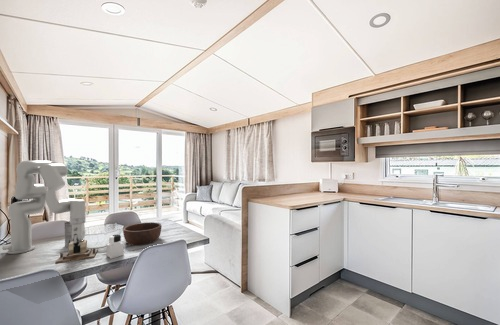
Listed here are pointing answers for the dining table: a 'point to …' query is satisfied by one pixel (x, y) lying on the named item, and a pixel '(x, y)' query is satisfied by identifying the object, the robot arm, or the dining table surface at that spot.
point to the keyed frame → (76, 256)
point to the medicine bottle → (114, 247)
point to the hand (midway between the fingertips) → (77, 251)
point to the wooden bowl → (142, 233)
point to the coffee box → (68, 233)
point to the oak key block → (82, 247)
